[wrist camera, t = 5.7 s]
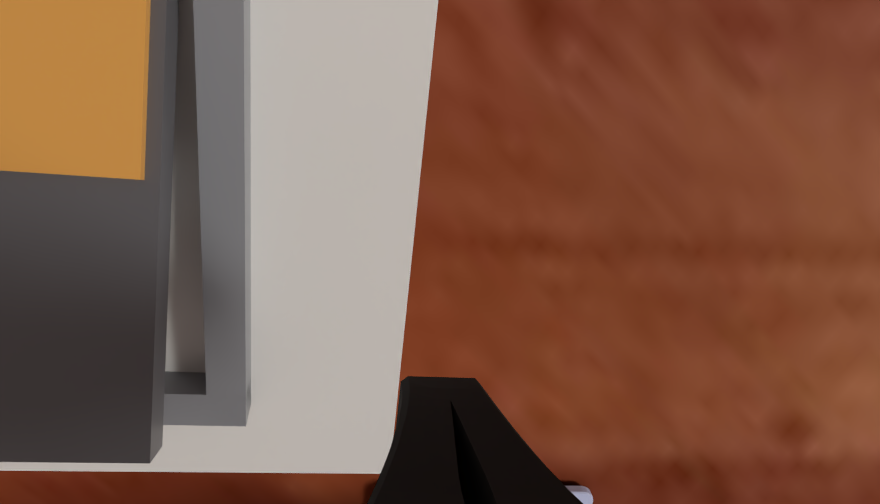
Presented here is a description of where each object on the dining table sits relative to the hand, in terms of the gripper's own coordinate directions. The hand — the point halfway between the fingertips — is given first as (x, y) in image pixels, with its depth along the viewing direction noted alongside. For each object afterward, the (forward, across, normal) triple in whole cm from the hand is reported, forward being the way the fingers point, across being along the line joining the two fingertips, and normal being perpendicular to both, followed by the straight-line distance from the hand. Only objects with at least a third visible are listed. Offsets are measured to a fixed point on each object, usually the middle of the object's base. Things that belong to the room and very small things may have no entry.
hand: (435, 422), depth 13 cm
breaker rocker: (+4, +8, -2) cm, 9 cm away
